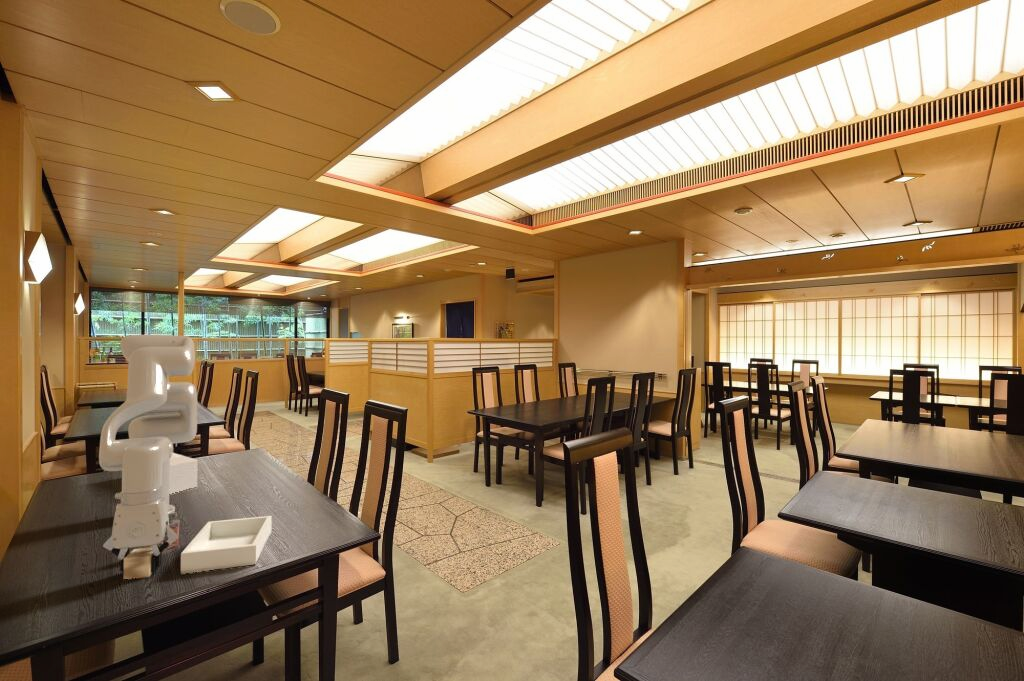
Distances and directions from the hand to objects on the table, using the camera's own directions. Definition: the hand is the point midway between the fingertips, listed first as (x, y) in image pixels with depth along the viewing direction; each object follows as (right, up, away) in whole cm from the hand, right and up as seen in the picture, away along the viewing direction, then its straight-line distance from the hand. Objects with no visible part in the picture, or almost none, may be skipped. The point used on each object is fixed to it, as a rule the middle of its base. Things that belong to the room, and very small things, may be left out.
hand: (141, 570), depth 110 cm
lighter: (-3, -1, +10) cm, 11 cm away
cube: (0, -1, 0) cm, 1 cm away
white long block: (-46, 0, +66) cm, 80 cm away
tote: (+14, -1, +12) cm, 18 cm away
